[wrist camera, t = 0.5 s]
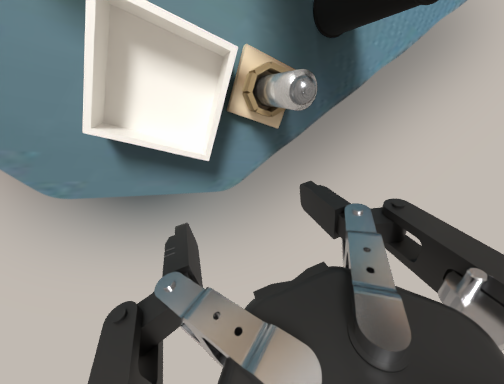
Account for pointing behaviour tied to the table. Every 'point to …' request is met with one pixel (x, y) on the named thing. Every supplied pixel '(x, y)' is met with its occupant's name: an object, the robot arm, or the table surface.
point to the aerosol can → (356, 13)
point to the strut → (286, 89)
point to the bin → (153, 78)
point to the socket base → (242, 96)
